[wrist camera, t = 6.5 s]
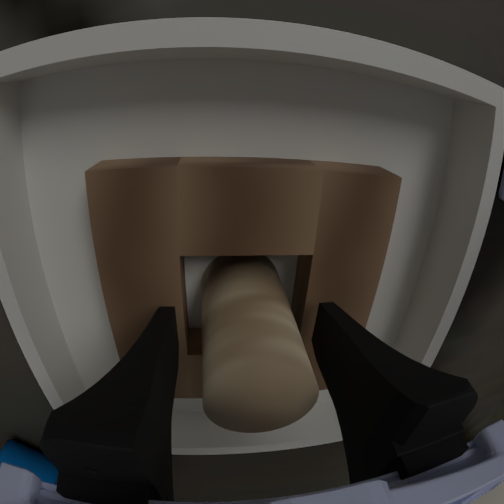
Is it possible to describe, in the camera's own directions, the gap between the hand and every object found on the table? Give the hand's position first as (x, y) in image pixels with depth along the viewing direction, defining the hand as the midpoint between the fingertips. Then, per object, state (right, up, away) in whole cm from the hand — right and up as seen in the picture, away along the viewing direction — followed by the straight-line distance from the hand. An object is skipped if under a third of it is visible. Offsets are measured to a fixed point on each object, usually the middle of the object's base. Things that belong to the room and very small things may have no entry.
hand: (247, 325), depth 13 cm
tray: (-1, +2, +4) cm, 4 cm away
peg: (0, +1, +3) cm, 3 cm away
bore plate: (-1, +2, +4) cm, 4 cm away
